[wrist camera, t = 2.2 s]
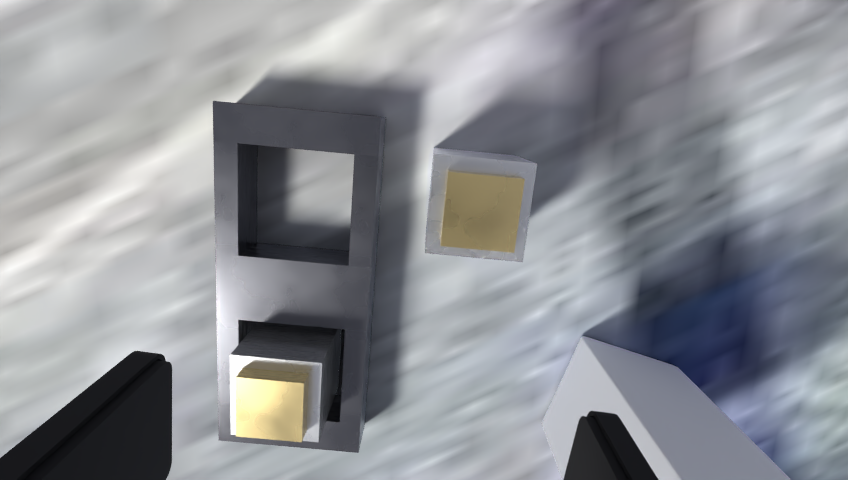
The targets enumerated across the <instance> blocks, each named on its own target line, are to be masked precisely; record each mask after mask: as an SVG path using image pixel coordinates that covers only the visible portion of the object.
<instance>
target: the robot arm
mask: <svg viewBox="0 0 848 480" xmlns="http://www.w3.org/2000/svg"><path fill="white" fill-rule="evenodd" d="M171 463H172V365H171V363H170V362H166V361H165V357H164V356H163V355H162V354H156V353H149V352H141V351H134V352H132V353H131V354H129V355H128V356H127V357H126V358H124V359H123V360H122V361H121V362H119V363H118V364H117V365H116V366H115V367H113V368H112V369H111V370H110V371H108V372H107V373H106V374H105V375H103V376H102V377H101V378H100V379H98V380H97V381H96V382H95V383H93V384H92V385H91V386H90V387H88V388H87V389H86V390H85V391H83V392H82V393H81V394H80V395H78V396H77V397H76V398H75V399H73V400H72V401H71V402H70V403H68V404H67V405H66V406H65V407H63V408H62V409H61V410H60V411H58V412H57V413H56V414H55V415H53V416H52V417H51V418H50V419H48V420H47V421H46V422H45V423H43V424H42V425H41V426H40V427H38V428H37V429H36V430H35V431H33V432H32V433H31V434H30V435H28V436H27V437H26V438H25V439H24V440H22V441H21V442H20V443H19V444H17V445H16V446H15V447H14V448H12V449H11V450H10V451H9V452H7V453H6V454H5V455H4V456H2V457H1V458H0V480H166V478H167V476H168V474H169V471H170V468H171ZM563 480H658V478H657V476H656V475H655V473H654V472H653V470H652V469H651V467H650V465H649V464H648V462H647V461H646V459H645V457H644V456H643V454H642V453H641V451H640V449H639V448H638V446H637V445H636V443H635V441H634V440H633V438H632V437H631V435H630V433H629V432H628V430H627V429H626V427H625V426H624V424H623V422H622V421H621V419H620V418H619V416H618V415H617V414H614V413H606V412H598V411H590V412H589V413H588V414H587V417H586V416H582V417H581V418H580V419H579V422H578V426H577V430H576V433H575V437H574V441H573V445H572V449H571V452H570V456H569V460H568V464H567V468H566V471H565V475H564V479H563Z"/></svg>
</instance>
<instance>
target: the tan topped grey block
mask: <svg viewBox="0 0 848 480" xmlns="http://www.w3.org/2000/svg"><path fill="white" fill-rule="evenodd" d="M341 330H342V329H335V328H324V327H313V326H302V325H291V324H280V323H269V322H258V323H257V324H256V325H255V326H254V328H253V329H252V330H251V331H250V332H249V333H248V334H247V336H246V337H245V338H244V339H243V340H242V341H241V343H240V344H239V345H238V346H237V347H236V348H235V350H234V351H233V352H232V353H231V354H230V410H231V435H236V436H237V437H248V438H260V439H271V440H282V441H293V442H302V441H309V442H319V440H320V437H321V434H322V431H323V428H324V425H325V423H326V420H327V417H328V414H329V411H330V408H331V406H332V403H333V400H334V397H335V394H336V391H337V388H338V386H339V368H340V349H341Z"/></svg>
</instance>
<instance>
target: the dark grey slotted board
mask: <svg viewBox="0 0 848 480" xmlns="http://www.w3.org/2000/svg"><path fill="white" fill-rule="evenodd" d="M385 127H386V117H377V116H366V115H356V114H345V113H335V112H324V111H314V110H303V109H292V108H282V107H271V106H261V105H250V104H240V103H229V102H218V101H213V135H214V193H215V251H216V309H217V367H218V425H219V440H222V441H233V442H244V443H256V444H267V445H278V446H289V447H301V448H312V449H323V450H334V451H346V452H357V453H358V452H359V448H360V443H361V439H362V434H363V430H364V425H365V414H366V400H367V385H368V371H369V357H370V342H371V328H372V314H373V299H374V285H375V271H376V256H377V242H378V228H379V213H380V199H381V185H382V170H383V156H384V142H385ZM257 145H262V146H272V147H283V148H293V149H304V150H315V151H325V152H336V153H347V154H355V156H354V174H353V193H352V211H351V229H350V247H349V251H340V250H329V249H318V248H308V247H297V246H286V245H275V244H264V243H257ZM256 321H258V322H269V323H280V324H291V325H302V326H313V327H324V328H335V329H345V338H344V357H343V375H342V393H341V395H335V397H334V400H333V403H332V406H331V408H330V411H329V414H328V417H327V420H326V423H325V425H324V428H323V431H322V434H321V437H320V440H319V442H309V441H302V442H293V441H282V440H271V439H260V438H248V437H237V436H236V435H231V410H230V354H231V353H232V352H233V351H234V350H235V348H236V347H237V346H238V345H239V344H240V343H241V341H242V340H243V339H244V338H245V337H246V336H247V334H248V333H249V332H250V331H251V330H252V329H253V328H254V326H255V325H256Z"/></svg>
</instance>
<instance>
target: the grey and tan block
mask: <svg viewBox="0 0 848 480" xmlns="http://www.w3.org/2000/svg"><path fill="white" fill-rule="evenodd" d="M536 170H537V163H535V162H532V161H529V160H527V159H524V158H522V157H519V156H516V155H507V154H497V153H487V152H476V151H466V150H455V149H445V148H434V151H433V162H432V172H431V182H430V193H429V203H428V213H427V224H426V242H425V253H430V254H441V255H451V256H462V257H473V258H484V259H494V260H505V261H516V262H523V256H524V250H525V243H526V236H527V230H528V223H529V216H530V210H531V203H532V196H533V190H534V183H535V176H536Z"/></svg>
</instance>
